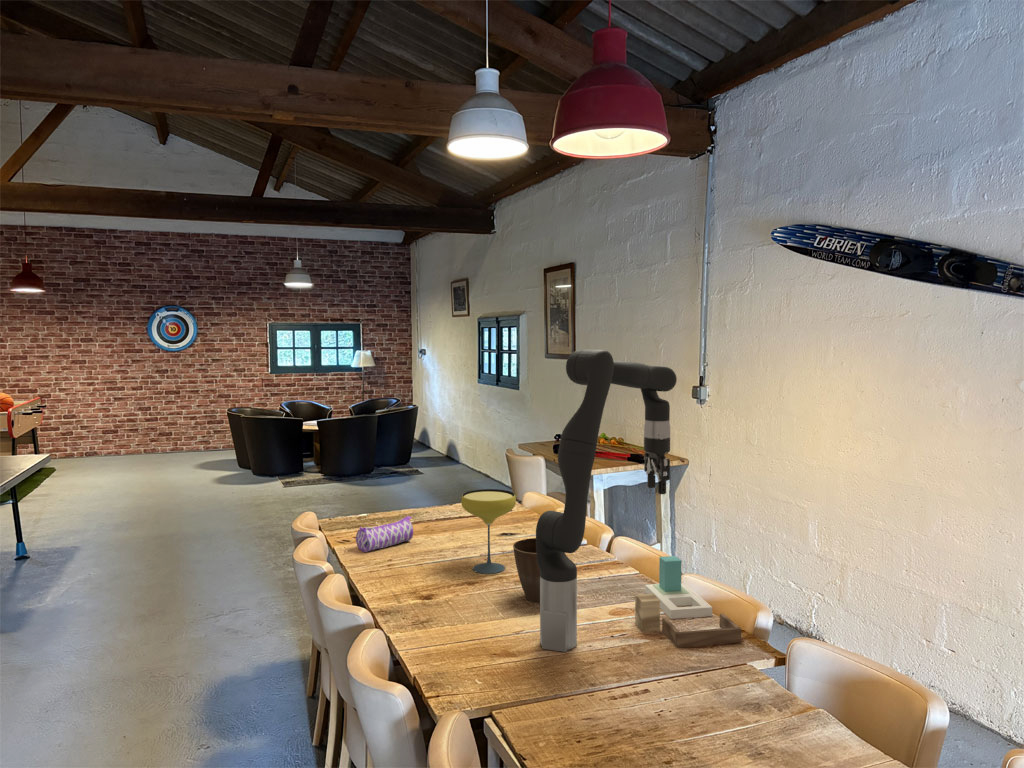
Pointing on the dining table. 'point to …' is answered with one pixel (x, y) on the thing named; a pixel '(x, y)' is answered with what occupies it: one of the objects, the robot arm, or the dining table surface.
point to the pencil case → (384, 535)
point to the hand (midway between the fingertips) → (656, 490)
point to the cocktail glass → (488, 516)
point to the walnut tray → (703, 634)
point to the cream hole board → (680, 602)
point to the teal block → (670, 573)
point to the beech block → (647, 612)
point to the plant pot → (528, 568)
